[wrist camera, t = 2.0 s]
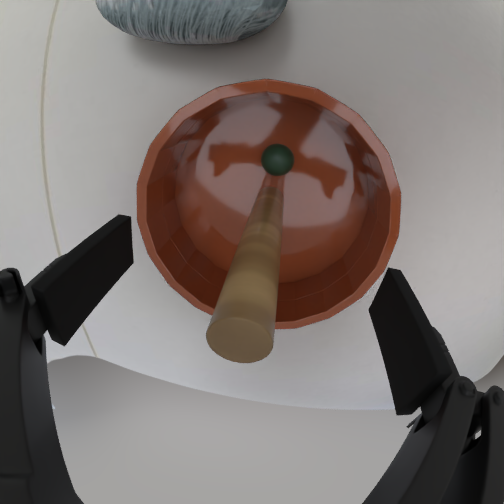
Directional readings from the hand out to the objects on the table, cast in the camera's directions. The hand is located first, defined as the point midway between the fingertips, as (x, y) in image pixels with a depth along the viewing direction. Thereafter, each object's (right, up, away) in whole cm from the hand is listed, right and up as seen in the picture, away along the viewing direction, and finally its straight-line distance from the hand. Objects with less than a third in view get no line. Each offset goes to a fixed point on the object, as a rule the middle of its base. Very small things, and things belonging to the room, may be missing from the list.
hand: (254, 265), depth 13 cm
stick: (+1, +5, +9) cm, 10 cm away
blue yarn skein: (-4, +21, +2) cm, 21 cm away
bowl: (+1, +5, +9) cm, 11 cm away
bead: (+2, +7, +6) cm, 9 cm away
